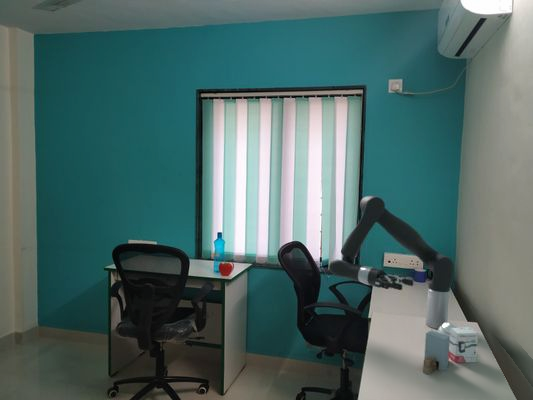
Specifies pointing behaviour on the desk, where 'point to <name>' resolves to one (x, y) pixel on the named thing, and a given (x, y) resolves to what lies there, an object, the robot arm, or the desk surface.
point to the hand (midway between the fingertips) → (407, 285)
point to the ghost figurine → (446, 329)
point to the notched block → (437, 348)
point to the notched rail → (430, 364)
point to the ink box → (463, 345)
